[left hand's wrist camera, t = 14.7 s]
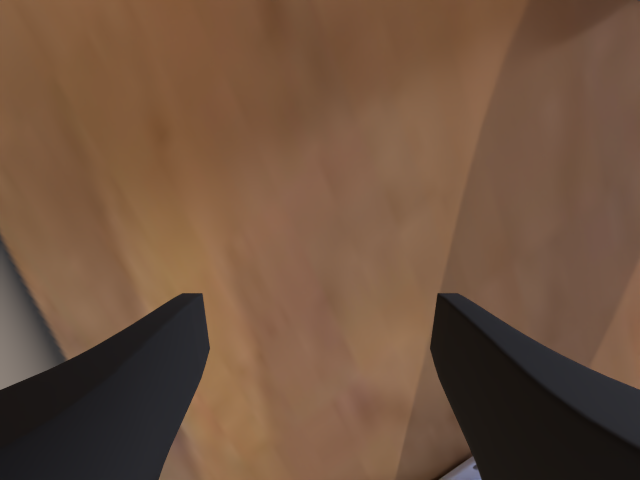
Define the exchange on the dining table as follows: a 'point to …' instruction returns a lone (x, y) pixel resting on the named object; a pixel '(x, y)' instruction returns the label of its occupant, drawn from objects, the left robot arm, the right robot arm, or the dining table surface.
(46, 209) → the dining table surface
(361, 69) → the dining table surface
